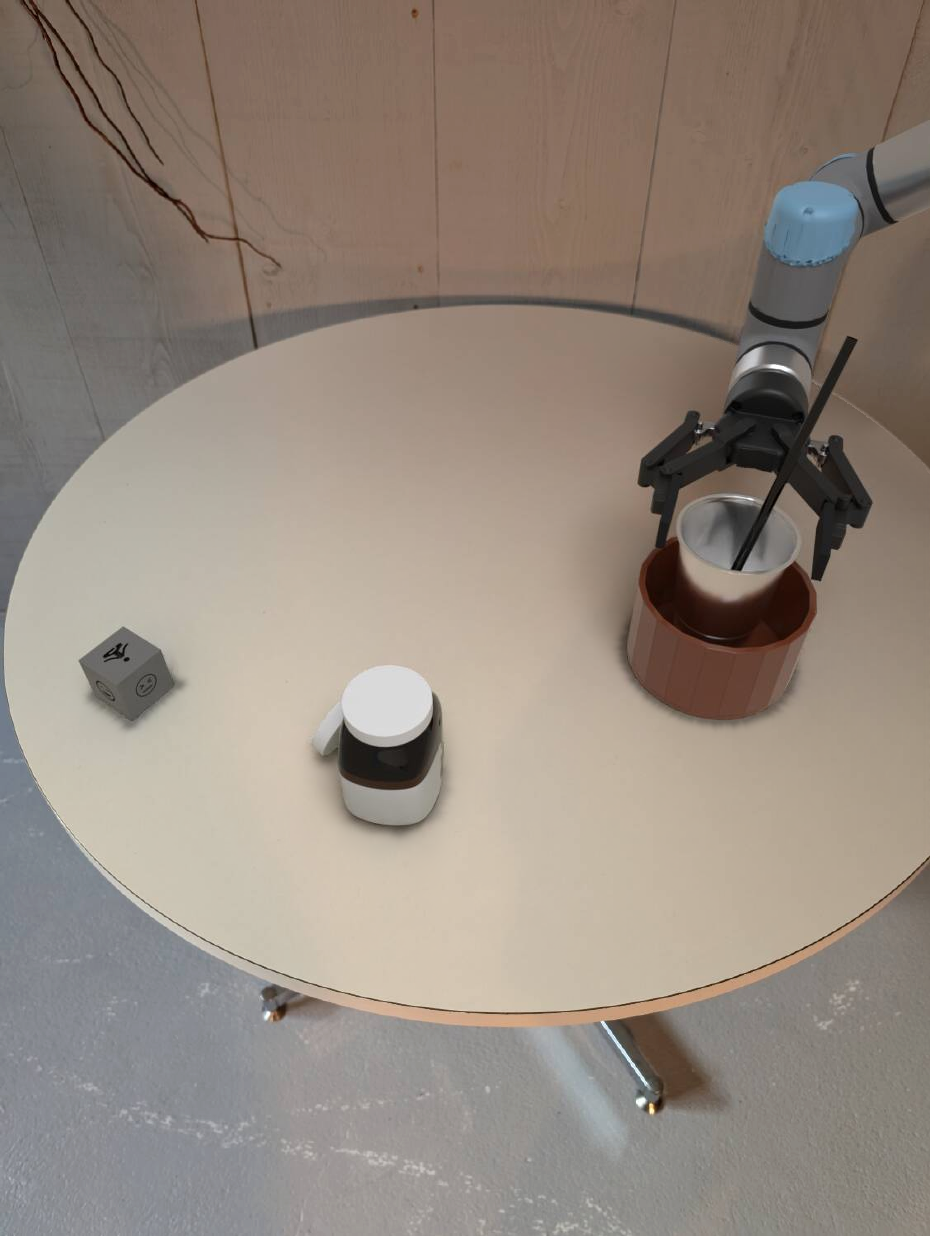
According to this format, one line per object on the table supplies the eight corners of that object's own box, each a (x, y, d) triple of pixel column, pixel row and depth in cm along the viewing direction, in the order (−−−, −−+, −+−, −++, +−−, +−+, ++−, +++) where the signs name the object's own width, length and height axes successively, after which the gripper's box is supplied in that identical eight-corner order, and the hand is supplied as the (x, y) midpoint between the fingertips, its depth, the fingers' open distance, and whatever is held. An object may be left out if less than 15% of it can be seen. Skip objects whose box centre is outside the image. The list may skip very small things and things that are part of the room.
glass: (764, 615, 88) (858, 333, 67) (770, 705, 81) (878, 420, 59) (652, 602, 90) (708, 321, 68) (648, 689, 82) (709, 404, 61)
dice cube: (138, 662, 86) (123, 626, 82) (174, 685, 84) (160, 649, 80) (95, 696, 83) (78, 660, 79) (132, 721, 81) (116, 685, 77)
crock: (824, 689, 83) (854, 622, 76) (679, 740, 79) (698, 674, 73) (731, 582, 93) (751, 514, 86) (598, 623, 89) (608, 555, 82)
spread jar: (430, 845, 72) (424, 761, 64) (293, 825, 74) (269, 741, 65) (456, 725, 80) (453, 636, 72) (332, 709, 82) (315, 620, 73)
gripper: (887, 459, 86) (884, 618, 71) (636, 415, 91) (586, 555, 77) (914, 390, 80) (917, 546, 66) (646, 348, 86) (595, 484, 71)
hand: (739, 551), depth 71 cm, fingers open, 12 cm apart
